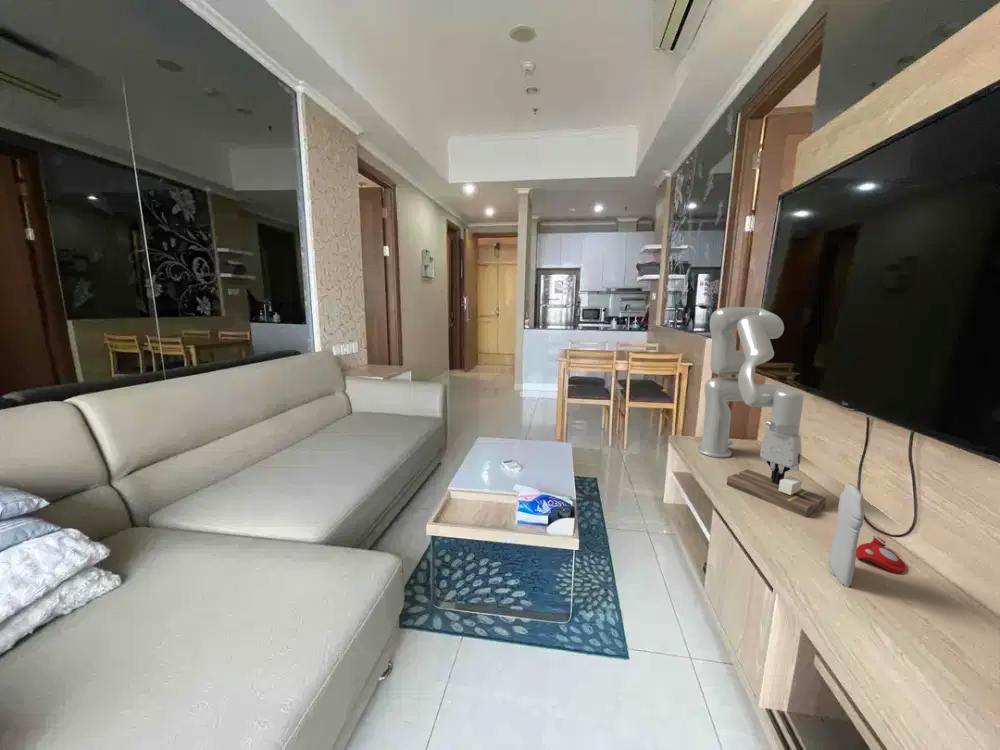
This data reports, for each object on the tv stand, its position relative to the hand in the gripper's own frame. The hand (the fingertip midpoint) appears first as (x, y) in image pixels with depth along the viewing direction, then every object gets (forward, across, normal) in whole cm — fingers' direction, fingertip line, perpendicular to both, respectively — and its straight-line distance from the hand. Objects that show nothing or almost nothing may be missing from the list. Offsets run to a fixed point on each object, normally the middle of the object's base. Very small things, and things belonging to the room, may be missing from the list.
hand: (776, 482), depth 131 cm
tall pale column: (+5, +28, -27) cm, 39 cm away
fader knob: (+3, +4, 0) cm, 5 cm away
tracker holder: (+5, +30, -11) cm, 33 cm away
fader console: (+5, -1, 0) cm, 5 cm away
